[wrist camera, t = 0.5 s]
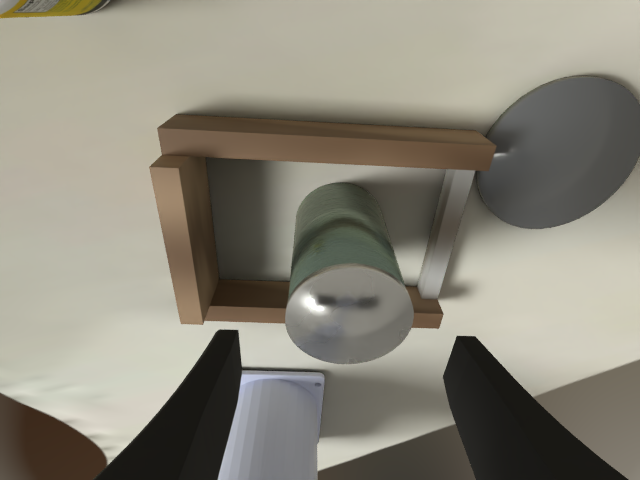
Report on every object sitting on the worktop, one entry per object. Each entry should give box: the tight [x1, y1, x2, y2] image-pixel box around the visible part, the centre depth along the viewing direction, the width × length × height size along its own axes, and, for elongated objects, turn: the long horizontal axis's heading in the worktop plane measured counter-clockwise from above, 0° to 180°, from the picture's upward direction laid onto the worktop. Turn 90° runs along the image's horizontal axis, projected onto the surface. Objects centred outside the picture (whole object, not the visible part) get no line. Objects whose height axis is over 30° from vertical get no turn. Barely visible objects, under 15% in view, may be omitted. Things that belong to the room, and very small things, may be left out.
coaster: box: [476, 76, 640, 229], centre depth 19 cm, size 8×8×1 cm
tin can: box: [285, 183, 414, 364], centre depth 18 cm, size 5×5×8 cm
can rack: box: [149, 114, 496, 329], centre depth 20 cm, size 11×15×4 cm
